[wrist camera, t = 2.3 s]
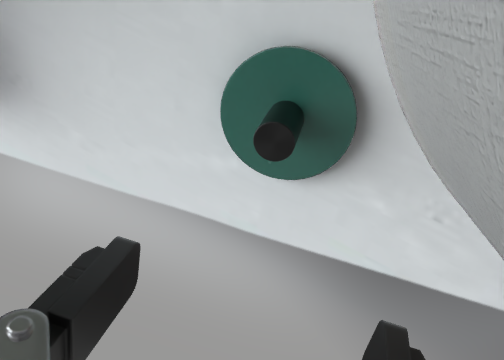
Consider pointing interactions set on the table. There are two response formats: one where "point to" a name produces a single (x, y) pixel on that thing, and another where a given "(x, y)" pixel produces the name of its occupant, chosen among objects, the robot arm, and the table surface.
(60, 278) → the robot arm
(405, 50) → the lamp
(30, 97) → the table surface
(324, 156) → the lid
